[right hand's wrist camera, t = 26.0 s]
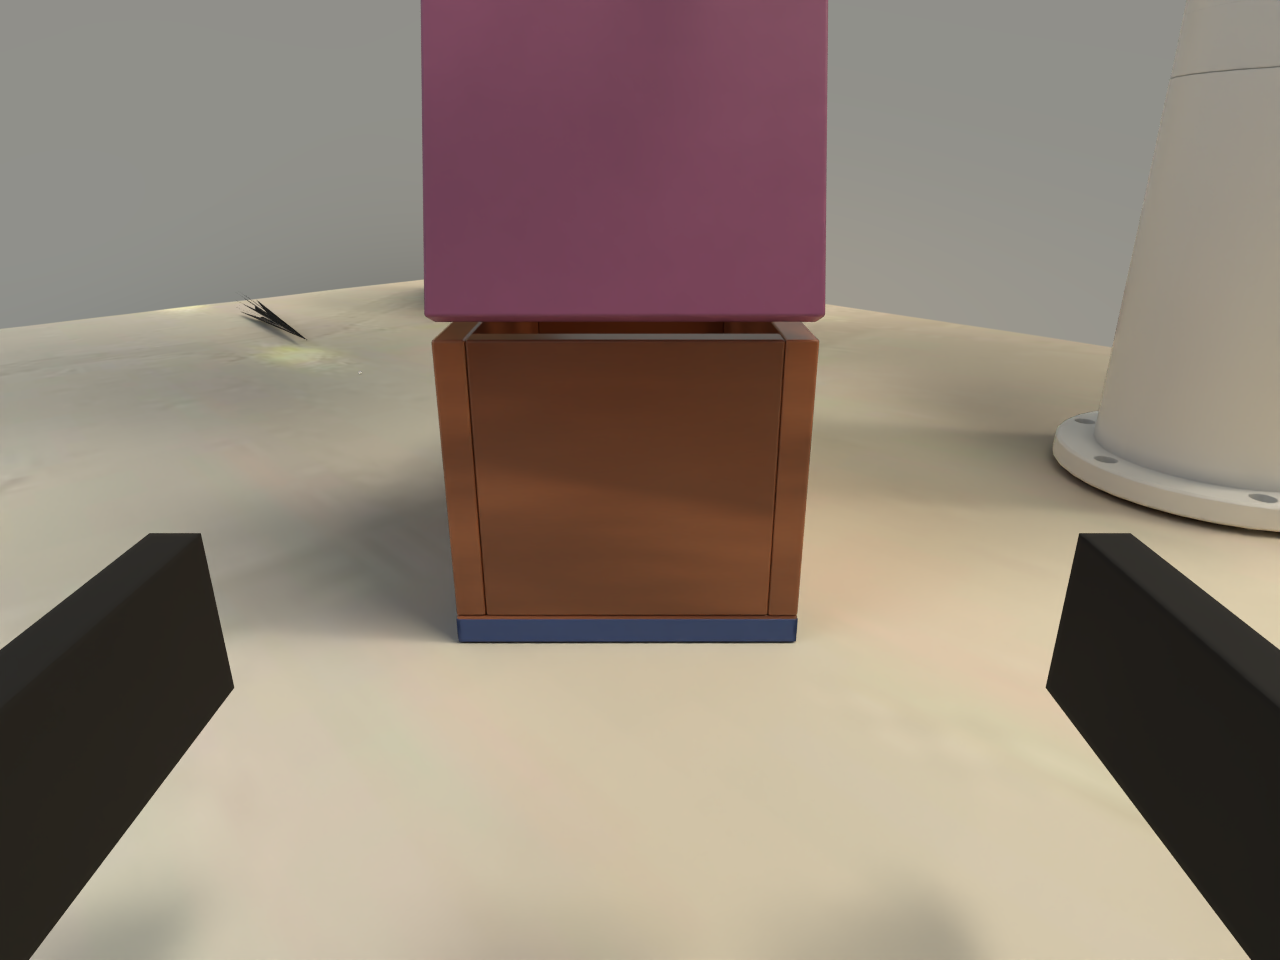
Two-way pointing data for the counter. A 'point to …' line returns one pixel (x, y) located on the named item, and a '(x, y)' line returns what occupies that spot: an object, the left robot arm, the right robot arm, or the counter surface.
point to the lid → (624, 160)
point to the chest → (626, 478)
